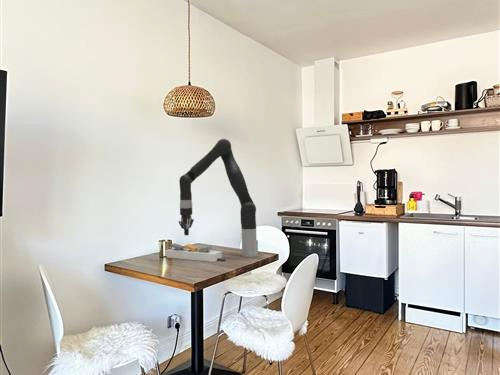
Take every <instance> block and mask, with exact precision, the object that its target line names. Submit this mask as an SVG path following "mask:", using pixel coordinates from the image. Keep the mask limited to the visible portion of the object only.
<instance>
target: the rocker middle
mask: <svg viewBox="0 0 500 375" xmlns="http://www.w3.org/2000/svg"><path fill="white" fill-rule="evenodd" d="M184 246H185V247H184V248H185V249H189V250H192V251H197V250H199V247H198V246H195V245H192V244H190V243H189V244H186V245H184Z"/></svg>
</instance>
